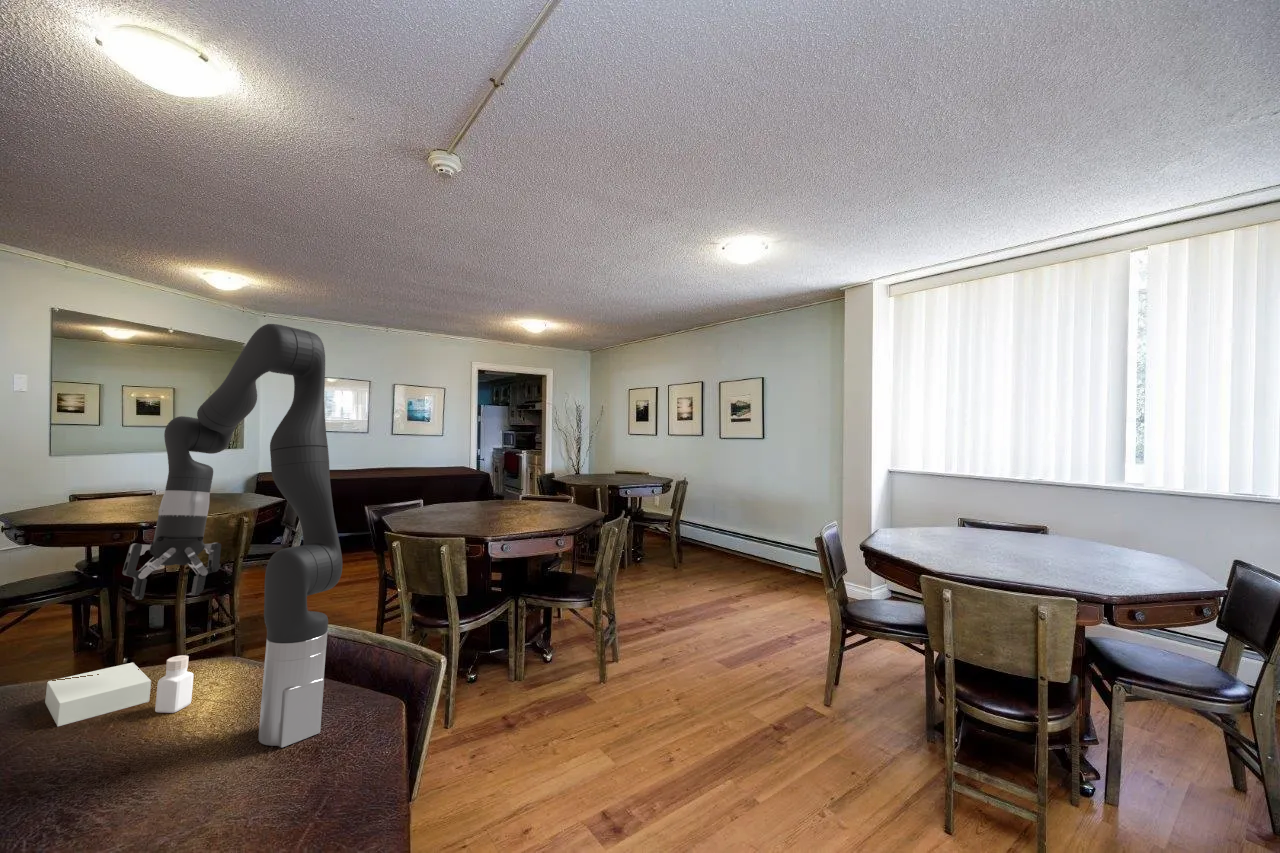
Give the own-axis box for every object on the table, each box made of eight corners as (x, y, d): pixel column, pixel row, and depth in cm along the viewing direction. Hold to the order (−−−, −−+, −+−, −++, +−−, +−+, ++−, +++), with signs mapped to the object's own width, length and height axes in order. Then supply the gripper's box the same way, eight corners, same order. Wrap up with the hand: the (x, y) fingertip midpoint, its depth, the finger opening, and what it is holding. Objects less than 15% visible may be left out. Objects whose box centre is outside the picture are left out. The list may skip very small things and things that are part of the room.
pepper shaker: (174, 714, 96) (179, 662, 96) (153, 713, 96) (157, 662, 96) (192, 704, 100) (197, 654, 100) (172, 703, 100) (176, 654, 100)
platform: (149, 701, 100) (151, 680, 100) (57, 726, 90) (60, 703, 91) (131, 681, 108) (133, 662, 108) (45, 702, 98) (47, 681, 98)
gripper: (142, 512, 96) (124, 602, 93) (233, 515, 108) (219, 594, 104) (130, 513, 100) (112, 599, 97) (218, 515, 112) (205, 592, 108)
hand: (168, 596), depth 101 cm, fingers open, 8 cm apart
